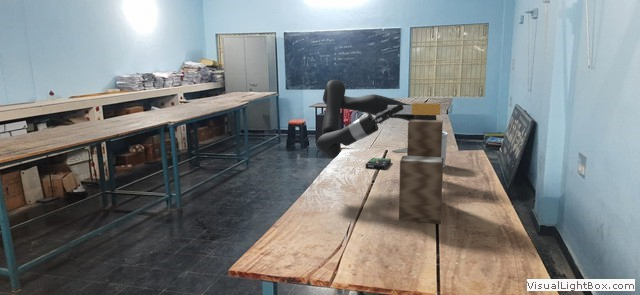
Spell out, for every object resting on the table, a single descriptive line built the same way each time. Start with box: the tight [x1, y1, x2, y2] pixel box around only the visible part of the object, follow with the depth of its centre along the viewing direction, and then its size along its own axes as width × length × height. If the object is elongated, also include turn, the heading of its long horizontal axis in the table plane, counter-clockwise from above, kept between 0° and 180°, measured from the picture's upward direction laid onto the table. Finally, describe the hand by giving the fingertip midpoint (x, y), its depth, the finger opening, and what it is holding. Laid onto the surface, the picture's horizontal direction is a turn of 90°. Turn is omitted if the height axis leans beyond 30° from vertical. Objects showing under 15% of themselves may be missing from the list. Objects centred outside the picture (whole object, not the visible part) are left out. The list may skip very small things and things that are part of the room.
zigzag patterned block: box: [398, 119, 444, 225], centre depth 151 cm, size 14×23×32 cm, turn 163°
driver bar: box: [387, 102, 442, 116], centre depth 155 cm, size 19×4×4 cm, turn 73°
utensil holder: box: [441, 130, 449, 169], centre depth 214 cm, size 15×15×18 cm
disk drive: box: [365, 157, 392, 170], centre depth 219 cm, size 10×3×15 cm
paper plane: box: [393, 146, 408, 154], centre depth 254 cm, size 26×28×4 cm
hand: (402, 105), depth 156 cm, fingers closed on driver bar, 3 cm apart
